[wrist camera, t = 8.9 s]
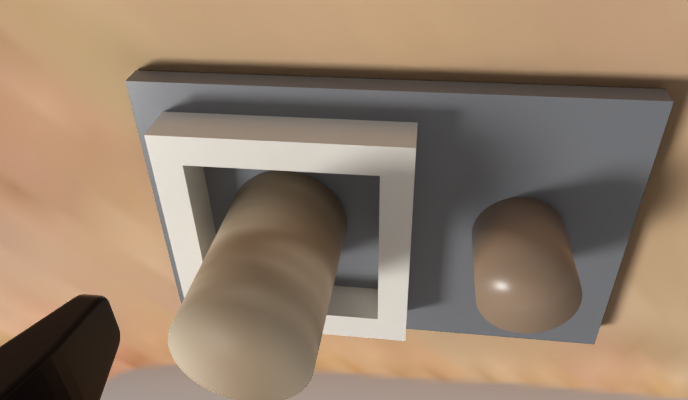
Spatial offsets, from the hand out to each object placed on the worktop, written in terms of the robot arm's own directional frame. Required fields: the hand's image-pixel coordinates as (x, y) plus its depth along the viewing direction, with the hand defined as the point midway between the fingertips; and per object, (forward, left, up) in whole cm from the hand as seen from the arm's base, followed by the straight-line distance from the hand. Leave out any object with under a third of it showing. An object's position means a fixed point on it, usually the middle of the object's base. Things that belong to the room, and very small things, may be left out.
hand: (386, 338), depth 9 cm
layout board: (+1, +6, -11) cm, 12 cm away
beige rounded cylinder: (+4, +6, -10) cm, 12 cm away
